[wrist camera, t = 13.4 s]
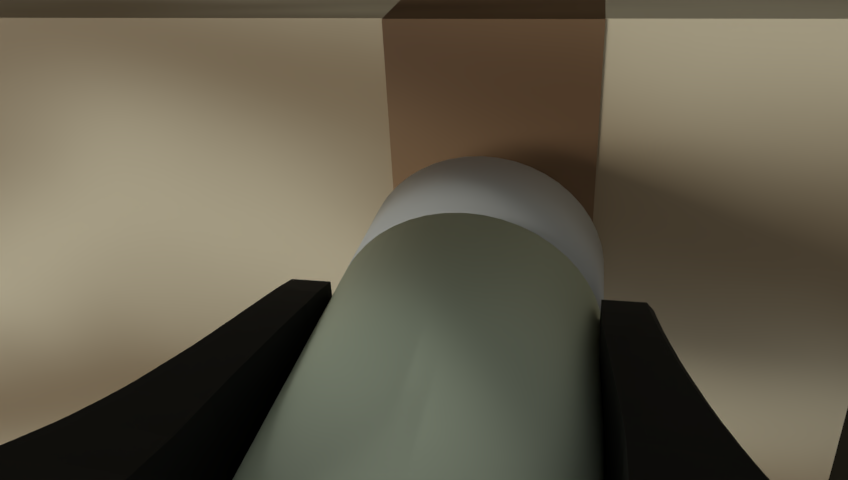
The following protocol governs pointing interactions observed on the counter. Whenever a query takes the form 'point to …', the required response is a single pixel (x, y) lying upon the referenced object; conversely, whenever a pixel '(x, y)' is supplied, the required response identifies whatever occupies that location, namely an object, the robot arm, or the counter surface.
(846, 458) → the counter surface
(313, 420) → the green grey capped cylinder
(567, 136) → the wooden cutting board
